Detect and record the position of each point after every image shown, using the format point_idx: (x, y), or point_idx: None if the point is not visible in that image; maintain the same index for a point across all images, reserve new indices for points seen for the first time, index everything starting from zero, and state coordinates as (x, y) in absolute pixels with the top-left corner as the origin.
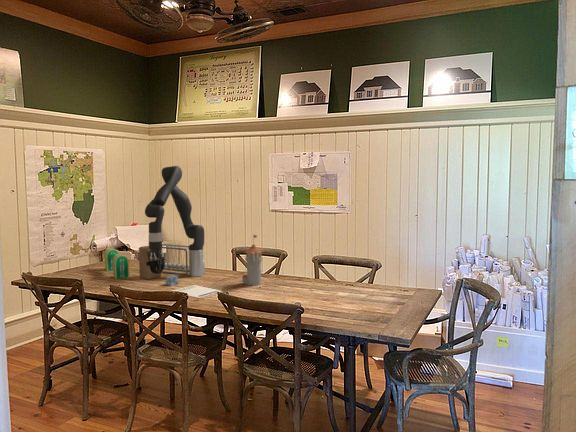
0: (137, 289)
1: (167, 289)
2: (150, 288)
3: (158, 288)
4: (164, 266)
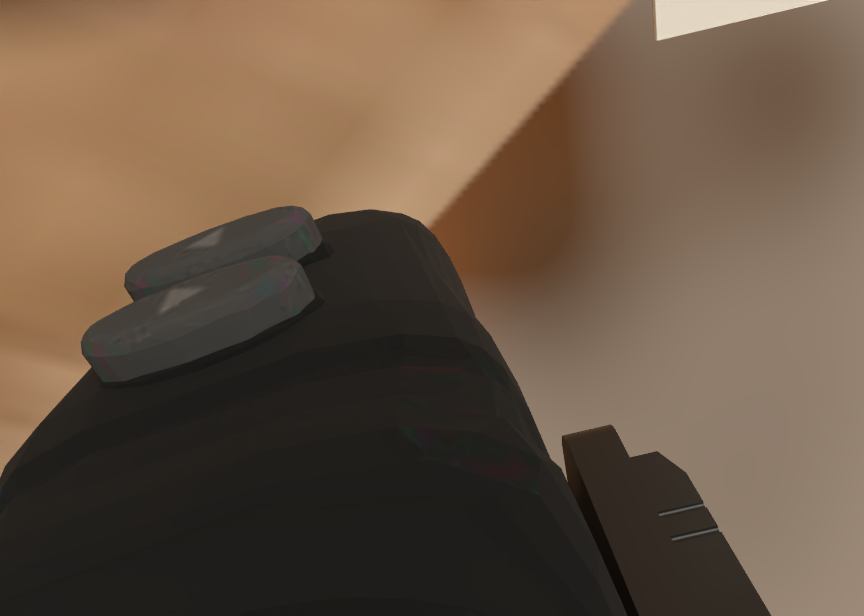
0: None
1: (470, 7)
2: None
3: (256, 128)
4: (418, 227)
